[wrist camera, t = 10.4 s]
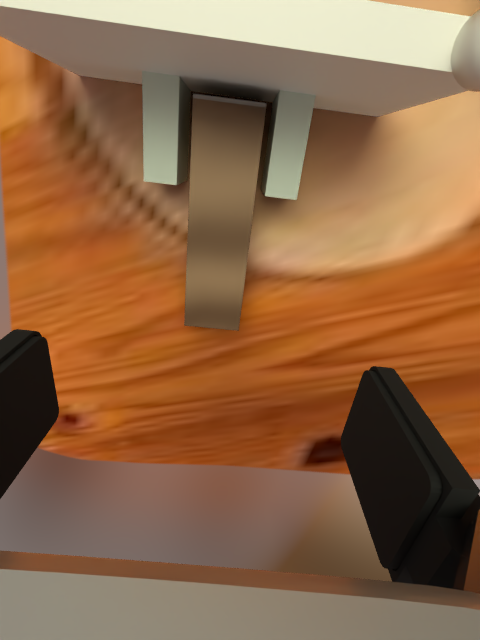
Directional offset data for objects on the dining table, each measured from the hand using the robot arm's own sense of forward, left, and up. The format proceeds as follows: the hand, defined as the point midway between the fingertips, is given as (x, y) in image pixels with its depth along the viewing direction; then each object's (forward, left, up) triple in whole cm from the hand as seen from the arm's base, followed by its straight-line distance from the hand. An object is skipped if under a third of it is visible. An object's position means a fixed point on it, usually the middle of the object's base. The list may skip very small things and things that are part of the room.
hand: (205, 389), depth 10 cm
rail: (+1, -2, -18) cm, 19 cm away
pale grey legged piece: (+1, -8, -18) cm, 20 cm away
